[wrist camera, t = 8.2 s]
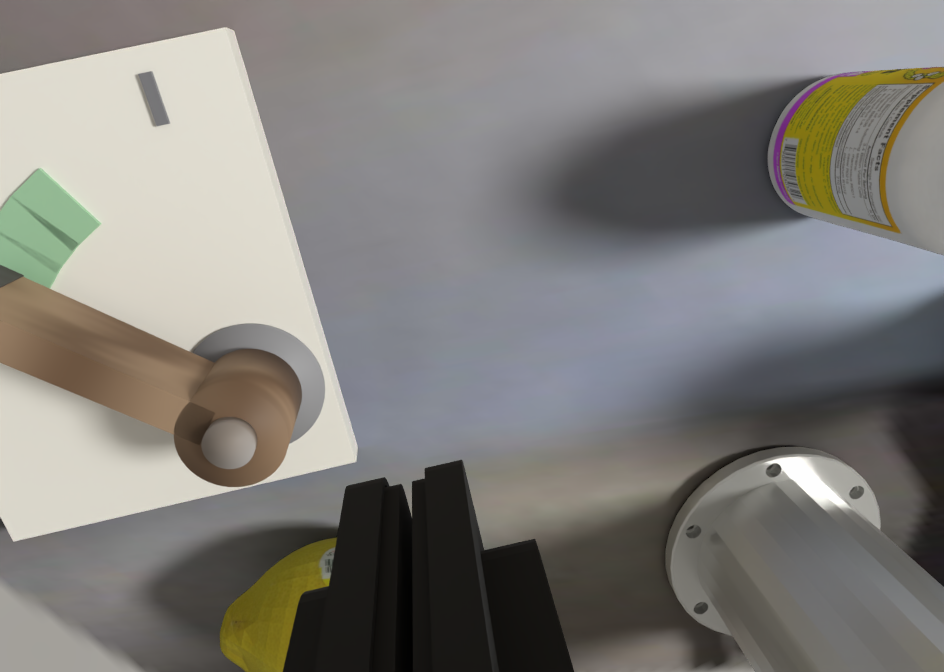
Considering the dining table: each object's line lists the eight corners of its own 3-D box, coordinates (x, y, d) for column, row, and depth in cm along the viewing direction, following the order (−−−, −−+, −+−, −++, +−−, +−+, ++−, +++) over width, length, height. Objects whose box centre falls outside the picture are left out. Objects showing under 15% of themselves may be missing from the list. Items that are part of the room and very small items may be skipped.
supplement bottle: (921, 120, 32) (1235, 135, 20) (833, 239, 34) (1076, 319, 22) (820, 42, 31) (1098, 8, 18) (733, 172, 32) (937, 219, 20)
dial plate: (357, 447, 35) (356, 463, 33) (29, 523, 34) (11, 544, 33) (233, 30, 28) (224, 26, 26) (-183, 117, 27) (-219, 118, 26)
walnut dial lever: (318, 374, 31) (305, 424, 26) (277, 450, 32) (257, 511, 27) (9, 231, 27) (-70, 258, 23) (-26, 321, 28) (-108, 366, 24)
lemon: (460, 526, 37) (477, 635, 30) (419, 636, 39) (426, 763, 32) (261, 485, 35) (226, 591, 27) (231, 604, 37) (190, 732, 30)
